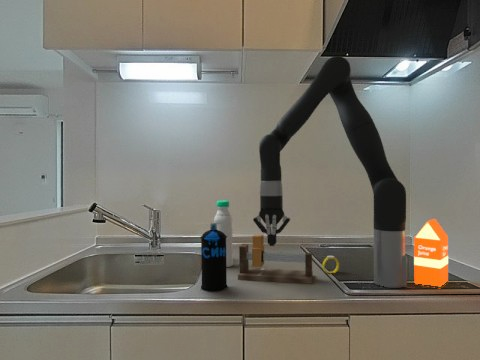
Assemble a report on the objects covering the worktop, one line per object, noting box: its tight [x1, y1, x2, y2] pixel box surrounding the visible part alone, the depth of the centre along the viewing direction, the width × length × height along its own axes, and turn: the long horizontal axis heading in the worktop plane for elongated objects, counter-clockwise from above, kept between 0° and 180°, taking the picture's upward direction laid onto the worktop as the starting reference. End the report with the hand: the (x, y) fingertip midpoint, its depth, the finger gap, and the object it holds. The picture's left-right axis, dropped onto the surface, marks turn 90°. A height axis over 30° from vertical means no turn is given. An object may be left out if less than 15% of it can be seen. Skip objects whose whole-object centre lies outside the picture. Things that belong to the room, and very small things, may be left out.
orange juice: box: [413, 218, 449, 287], centre depth 118 cm, size 8×9×20 cm
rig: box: [237, 243, 314, 285], centre depth 126 cm, size 24×10×10 cm, turn 76°
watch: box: [321, 255, 340, 274], centre depth 132 cm, size 6×3×6 cm, turn 105°
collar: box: [251, 233, 265, 269], centre depth 128 cm, size 3×6×10 cm, turn 166°
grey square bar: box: [246, 250, 306, 263], centre depth 126 cm, size 20×3×3 cm, turn 76°
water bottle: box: [213, 200, 234, 268], centre depth 143 cm, size 7×7×25 cm
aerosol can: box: [199, 222, 228, 292], centre depth 116 cm, size 8×8×20 cm
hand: (271, 245), depth 126 cm, fingers closed
